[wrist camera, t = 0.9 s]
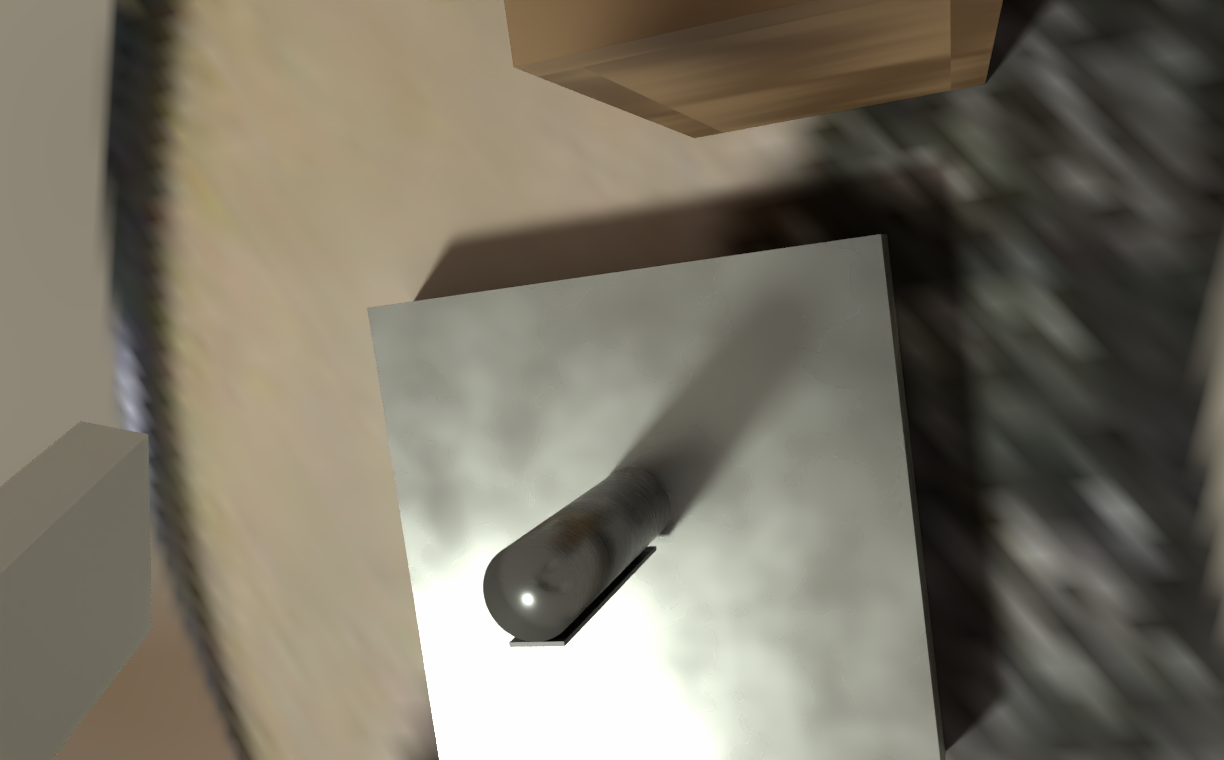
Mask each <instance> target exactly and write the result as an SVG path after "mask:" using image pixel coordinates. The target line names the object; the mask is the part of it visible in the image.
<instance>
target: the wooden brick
mask: <svg viewBox="0 0 1224 760" xmlns="http://www.w3.org/2000/svg"><path fill="white" fill-rule="evenodd" d="M1002 2H1003V0H504V4H505V10H506V17H507V24H508V31H509V38H510V45H511V52H512V59H513V66H514V68H517V69H520V70H522V71H525V72H527V73H530V74H532V75H535V76H537V77H540V78H543V79H545V80H548V81H550V82H553V83H555V84H558V85H560V86H563V87H565V88H568V89H571V90H573V91H576V92H578V93H581V94H583V95H586V96H588V97H591V98H594V99H596V100H599V101H601V102H604V103H606V104H609V105H611V106H614V107H617V108H619V109H622V110H624V111H627V112H629V113H632V114H634V115H637V116H639V117H642V118H645V119H647V120H650V121H652V122H655V123H657V124H660V125H662V126H665V127H668V128H670V129H673V130H675V131H678V132H680V133H683V134H685V135H688V136H691V137H693V138H697V137H703V136H708V135H713V134H719V133H724V132H730V131H735V130H740V129H746V128H751V127H757V126H762V125H767V124H773V123H778V122H784V121H789V120H794V119H800V118H805V117H811V116H816V115H821V114H827V113H832V112H838V111H843V110H848V109H854V108H859V107H865V106H870V105H875V104H881V103H886V102H892V101H897V100H902V99H908V98H913V97H919V96H924V95H929V94H935V93H940V92H946V91H951V90H956V89H962V88H967V87H973V86H978V85H983V84H985V82H986V77H987V73H988V68H989V63H990V59H991V54H992V49H993V45H994V40H995V35H996V30H997V26H998V21H999V16H1000V12H1001V7H1002Z"/></svg>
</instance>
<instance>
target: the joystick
mask: <svg viewBox="0 0 1224 760" xmlns="http://www.w3.org/2000/svg"><path fill="white" fill-rule="evenodd" d="M367 310H368V316H369V322H370V328H371V334H372V341H373V347H374V353H375V359H376V366H377V372H378V378H379V384H380V391H381V397H382V403H383V409H384V415H385V422H386V428H387V434H388V440H389V447H390V453H391V459H392V465H393V472H394V478H395V484H396V490H397V497H398V503H399V509H400V515H401V521H402V528H403V534H404V540H405V546H406V553H407V559H408V565H409V571H410V578H411V584H412V590H413V596H414V603H415V609H416V615H417V621H418V627H419V634H420V640H421V646H422V652H423V659H424V665H425V671H426V677H427V684H428V690H429V696H430V702H431V709H432V715H433V721H434V727H435V733H436V740H437V746H438V752H439V758H440V760H945V753H946V752H945V744H944V735H943V726H942V717H941V708H940V699H939V690H938V681H937V672H936V664H935V655H934V646H933V637H932V628H931V619H930V610H929V601H928V593H927V584H926V575H925V566H924V557H923V548H922V539H921V530H920V521H919V513H918V504H917V495H916V486H915V477H914V468H913V459H912V450H911V441H910V433H909V424H908V415H907V406H906V397H905V388H904V379H903V370H902V362H901V353H900V344H899V335H898V326H897V317H896V308H895V299H894V290H893V282H892V273H891V264H890V255H889V246H888V237H887V234H878V235H871V236H864V237H857V238H850V239H843V240H836V241H829V242H822V243H816V244H809V245H802V246H795V247H788V248H781V249H774V250H767V251H760V252H753V253H746V254H739V255H732V256H725V257H718V258H711V259H704V260H697V261H690V262H683V263H676V264H669V265H663V266H656V267H649V268H642V269H635V270H628V271H621V272H614V273H607V274H600V275H593V276H586V277H579V278H572V279H565V280H558V281H551V282H544V283H537V284H530V285H523V286H516V287H510V288H503V289H496V290H489V291H482V292H475V293H468V294H461V295H454V296H447V297H440V298H433V299H426V300H419V301H412V302H405V303H398V304H391V305H384V306H377V307H370V308H367Z"/></svg>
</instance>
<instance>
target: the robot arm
mask: <svg viewBox="0 0 1224 760" xmlns="http://www.w3.org/2000/svg"><path fill="white" fill-rule="evenodd" d="M151 609H152V607H151V555H150V504H149V453H148V434H144V433H138V432H133V431H128V430H123V429H118V428H112V427H107V426H102V425H97V424H92V423H86V422H81V421H80V422H79V423H78V424H77V425H75V426H74V427H73V428H72V429H70V430H69V431H68V432H67V433H65V434H64V435H63V436H62V437H61V438H59V439H58V440H57V441H56V442H54V443H53V444H52V445H51V446H50V447H48V448H47V449H46V450H45V451H44V452H42V453H41V454H40V455H39V456H37V457H36V458H35V459H34V460H32V461H31V462H30V463H29V464H28V465H26V466H25V467H24V468H23V469H21V470H20V471H19V472H18V473H16V474H15V475H14V476H13V477H12V478H10V479H9V480H8V481H7V482H5V483H4V484H3V485H2V486H1V487H0V760H53V758H54V757H55V756H56V754H57V753H58V752H59V750H60V749H61V748H62V747H63V745H64V744H65V743H66V741H67V740H68V738H69V737H70V736H71V735H72V733H73V732H74V731H75V729H76V728H77V727H78V726H79V724H80V723H81V722H82V720H83V719H84V718H85V716H86V715H87V714H88V712H89V711H90V710H91V709H92V707H93V706H94V705H95V703H96V702H97V701H98V699H99V698H100V697H101V696H102V694H103V693H104V692H105V690H106V689H107V687H108V686H109V685H110V684H111V682H112V681H113V680H114V679H115V677H116V676H117V675H118V673H119V672H120V671H121V669H122V668H123V667H124V665H125V664H126V663H127V662H128V660H129V659H130V658H131V656H132V655H133V654H134V652H135V651H136V649H137V648H138V647H139V646H140V644H141V643H142V642H143V641H144V639H145V638H146V636H147V635H148V634H149V633H150V631H151V630H152V610H151Z"/></svg>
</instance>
